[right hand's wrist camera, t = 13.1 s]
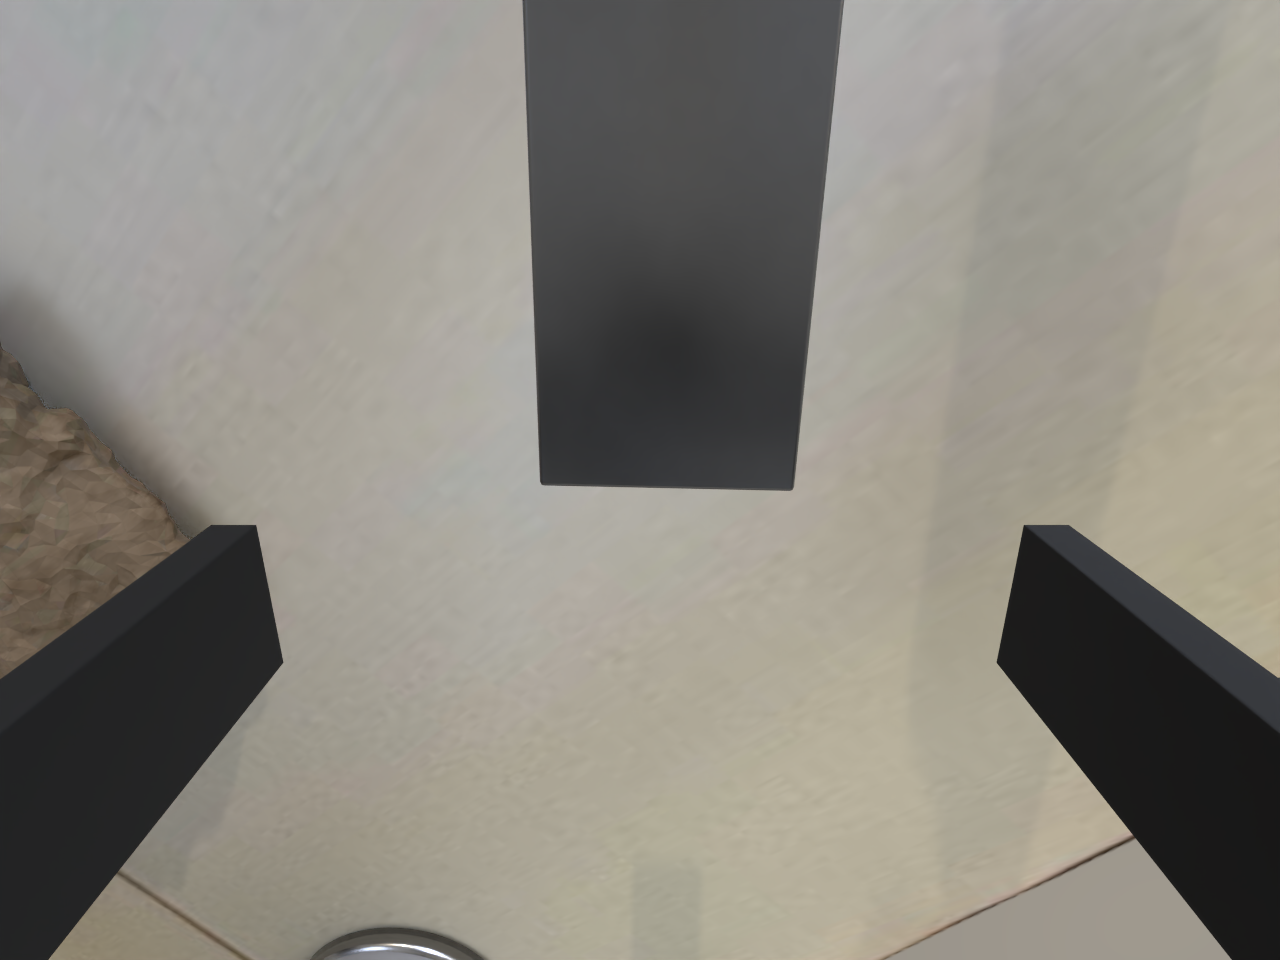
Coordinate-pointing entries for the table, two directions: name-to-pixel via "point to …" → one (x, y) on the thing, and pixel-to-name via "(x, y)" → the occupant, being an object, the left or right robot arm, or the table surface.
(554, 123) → the bar
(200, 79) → the table surface
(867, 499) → the table surface
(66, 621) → the stone
